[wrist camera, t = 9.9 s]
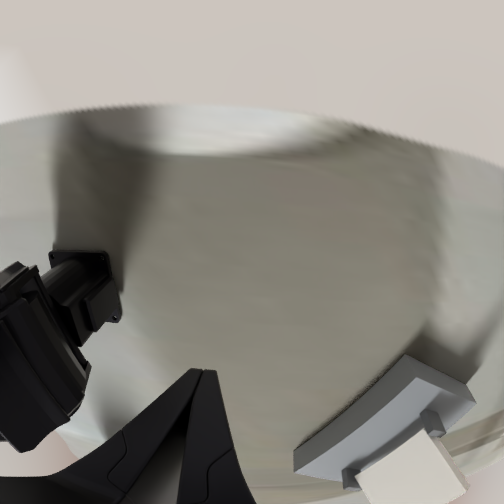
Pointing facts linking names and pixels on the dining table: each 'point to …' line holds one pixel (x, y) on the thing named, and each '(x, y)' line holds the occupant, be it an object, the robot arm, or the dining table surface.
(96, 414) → the dining table surface
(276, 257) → the dining table surface
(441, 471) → the panel
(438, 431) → the base
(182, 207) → the dining table surface
